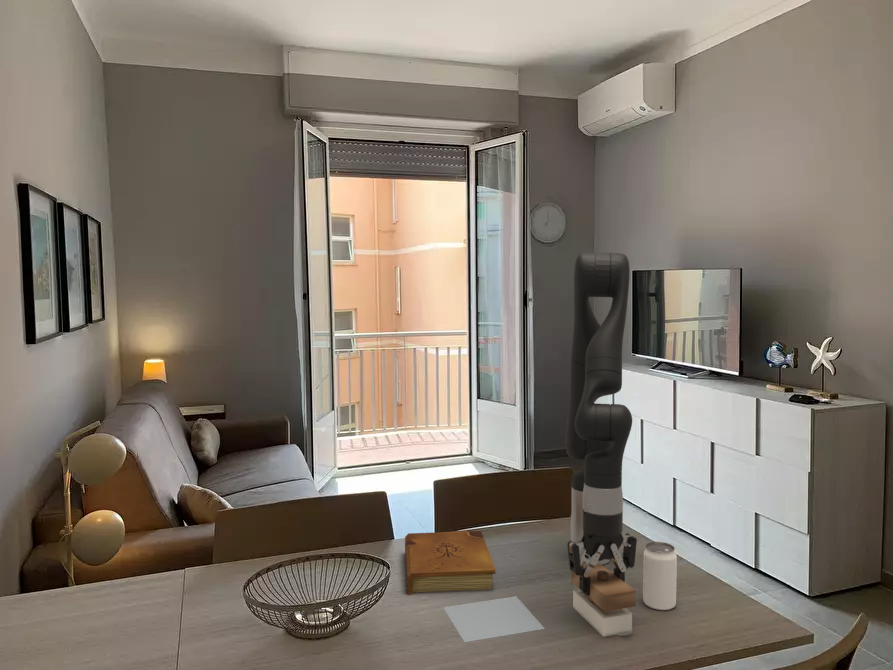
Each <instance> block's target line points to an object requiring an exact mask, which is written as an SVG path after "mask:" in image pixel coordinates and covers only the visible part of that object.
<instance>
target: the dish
mask: <svg viewBox="0 0 893 670" xmlns="http://www.w3.org/2000/svg"><path fill="white" fill-rule="evenodd" d="M572 595H573V596H572V608H573V609H574V610H575V611H576V612H577V613H578V615H580V616H581V617H582V618H583V619H584V620H585V621H586V622H587V623H589V625H590V626H592V627H593V628H594V630H595V631H597V632H598V634H599V635H600V636H601V637H603V638H606V637H611V636H619V637H624V636H625V637H626V636H630V635H631V636H632V635H633V613H632V612H631V611H629V609H628V608H623V609H617V610H611V611H604V610H602V609H601V608H600V607H599V606H598V605H597V604H596V603H595V602H594V601H592V600H591V599H590V598H589V597H588V596H586V595H585V594H584V593H583V592H582V591H581V590H580V589H575V590H572Z"/></svg>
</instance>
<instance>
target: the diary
mask: <svg viewBox="0 0 893 670" xmlns="http://www.w3.org/2000/svg"><path fill="white" fill-rule="evenodd" d="M404 553H405V554H404V555H405V569H406V571H405V573H406V585H407V588H406V589H407V595H408V596H410V595H411V596H412V595H413V593H430V592H432V593H433V592H455V591H457V592H459V591H461V592H462V591H481V590H483V591H484V590H493V575H496V568H495V564H494V562H493V559H492V557H491V554H490V551H489V548H488V546H487V543H486V540H485V538H484V535H483V532H482V530H466V531H464V530H463V531H461V530H460V531H439V532H438V531H437V532H416V533H414V532H413V533H412V532H411V533H407V535H405V536H404Z"/></svg>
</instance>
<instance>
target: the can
mask: <svg viewBox="0 0 893 670" xmlns="http://www.w3.org/2000/svg"><path fill="white" fill-rule="evenodd" d="M675 549H676V548H675V546H674V545H672V544H670V543H667V542H664V541H650V542H647V543H646V544H645V549H644V550H643V559H642V560H643V563H642V565H643V567H642V570H643V571H642V572H643V573H642V574H643V575H642V578H643V579H642V585H643V586H642V601H643V603H644V604H645V605H646V606H647V607H648V608H650V609H653V610H657V611H670V610H672V609H674V608H675V607H676V605H677V568H678V567H677V564H678V563H677V561H678V560H677V558H678V557H677V556H678V555H677V554H676V553H677V552H675Z"/></svg>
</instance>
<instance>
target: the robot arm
mask: <svg viewBox="0 0 893 670" xmlns="http://www.w3.org/2000/svg"><path fill="white" fill-rule="evenodd" d="M630 273H631V271H630V261H629V258H628V256H627V254H624V253H620V252H619V253H618V252H594V251H592V252H581V253H579V254H578V255H577V257H576V259H575V263H574V273H573V288H574V289H573V295H574V296H573V299H574V300H573V307H574V308H573V312H574V313H573V314H574V315H573V332H572V333H573V335H572V344H571V357H570V376H569V377H570V379H569V380H570V386H569V387H570V389H569V403H568V406H569V407H568V410H567V411H568V412H567V413H568V414H567V420H566V429H565V438H564V439H565V440H564V441H565V442H564V443H565V450H566V455H568V457H569V458H571V460H572V459H573V460H579V461H580V460H582V461H583V460H584V463H583V469H582V470H579V471H576V472H575V473H574V474H573V475H572V476H571V514H570V540H568V542H567V543H566V544H567V554H568V556H567V557H568V565H569V570H570V571H571V572H572V571H573V572H574V573H575V574H576V575H577V576H579V588H580V589H579V588H578V589H579V590H581V591H582V592H583V593H584V594H585V595H586V596H588V595H590V577H589V575H590V573H591V571H592V569H593V567H595V566H596V564H601V565H606V564H608V563H610V562H612V564H613V566H614V567H615V568H613V574H614V575H615V576H617V577H618V578H619V579H621V580H622V581H624V582H625V583H626V581H625V579H626V578H625V575H626V571H627V569H629V568H630V569H631V568H632V569H633V568H634V566H635V562H636V551H637V543H638V539H637V537H635V536H634V535H632V534H630V533H628V532H627V533H625V534H624V535H623V534H622V532H623V531H624V530H623V528H624V527H623V525H624V524H623V519H624V518H623V516H624V515H623V512H624V510H623V509H624V496H623V495H624V494H623V485H622V482H623V481H622V479H623V477H622V476H623V459H624V455H625V454H624V453H625V451H626V450H625V449H626V445H627V442H628V440H629V437H630V433H631V431H632V426H633V417H632V413H631V411H630V409H629V407H627V406H626V405H625V404H624V405H623V404H620V403H619V404H618V403H595V402H596V401H597V400H598V399H599V398H602V397H606V396H611V395H614V394H618V393H619V392H620V391H621V389H622V387H623V343H624V341H623V340H624V332H625V326H626V318H627V311H628V310H627V309H628V299H629V289H630ZM590 298H611V299H612V301H611V306H610V308H609V311H608V313H607V315H606V317H605V319H604V320H603V322H602V323H601V325H600V323H599V322H598V320H597V318H596V316H595V314H594V312H593V308H592V306H591V303H590ZM622 545H623V549H622V551H623V552H622V554H621V553H620V551H619V549H620V548H621V546H622Z"/></svg>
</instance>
